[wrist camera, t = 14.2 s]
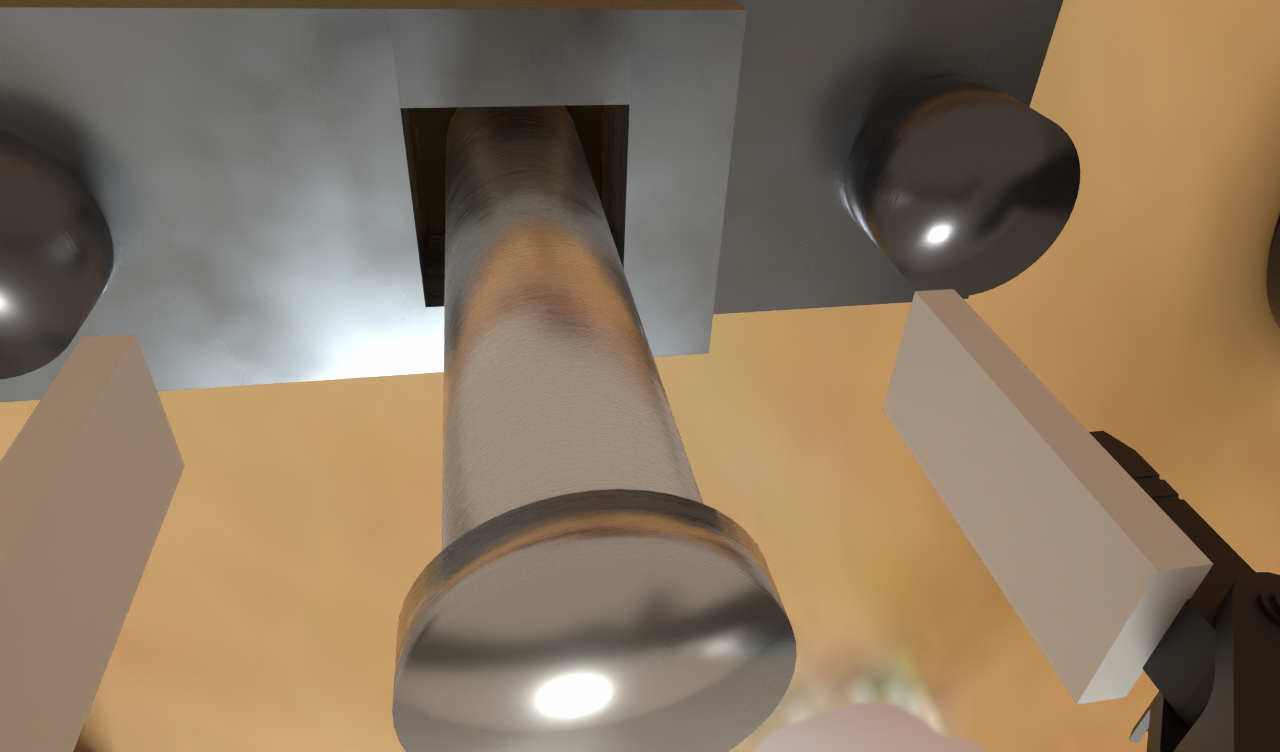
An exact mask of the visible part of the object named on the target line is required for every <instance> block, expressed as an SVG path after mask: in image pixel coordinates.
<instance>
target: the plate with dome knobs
mask: <svg viewBox="0 0 1280 752" xmlns="http://www.w3.org/2000/svg"><path fill="white" fill-rule="evenodd" d="M1062 2H1063V0H0V402H13V401H27V400H41V399H42V398H43V396H44V394H45V393H46V391H47V390H48V388H49V387H50V385H51V384H52V382H53V381H54V379H55V378H56V376H57V375H58V373H59V372H60V370H61V369H62V367H63V365H64V364H65V362H66V361H67V359H68V358H69V356H70V355H71V353H72V352H73V350H74V349H75V347H76V346H77V344H78V343H79V341H80V340H81V338H82V337H92V336H110V335H128V334H136V336H137V339H138V341H139V344H140V347H141V350H142V352H143V355H144V358H145V360H146V363H147V366H148V368H149V371H150V374H151V376H152V379H153V382H154V384H155V387H156V390H157V391H171V390H185V389H200V388H214V387H229V386H243V385H257V384H272V383H286V382H301V381H315V380H329V379H344V378H358V377H373V376H387V375H401V374H416V373H430V372H444V301H445V235H429V233H428V225H427V216H426V208H425V199H424V191H423V182H422V173H421V165H420V156H419V148H418V139H417V131H416V122H415V114H414V108H443V107H504V106H565V105H603V121H602V180H601V204H602V207H603V210H604V213H605V216H606V219H607V222H608V225H609V228H610V231H611V234H612V237H613V240H614V243H615V246H616V249H617V252H618V255H619V258H620V260H621V263H622V266H623V269H624V272H625V275H626V278H627V281H628V284H629V287H630V290H631V293H632V296H633V299H634V302H635V305H636V308H637V311H638V314H639V316H640V319H641V322H642V325H643V328H644V331H645V334H646V337H647V340H648V343H649V346H650V349H651V352H652V355H653V357H661V356H675V355H689V354H704V353H709V345H710V336H711V327H712V318H713V314H723V313H740V312H756V311H772V310H789V309H805V308H821V307H838V306H854V305H870V304H887V303H903V302H912V301H913V297H914V293H915V291H929V290H947V289H954V290H955V291H956V292H957V293H958V294H959V295H960V296H961V297H962V298H963V299H968V297H969V295H973V294H978V293H982V292H984V291H987V290H990V289H993V288H995V287H997V286H1000V285H1002V284H1004V283H1006V282H1007V281H1009V280H1011V279H1013V278H1014V277H1016V276H1017V275H1019V274H1020V273H1022V272H1023V271H1025V270H1026V269H1027V268H1028V267H1030V266H1031V265H1032V264H1033V263H1034V262H1036V261H1037V260H1038V259H1039V258H1040V257H1041V256H1042V255H1043V254H1044V253H1045V252H1046V251H1047V250H1048V248H1049V247H1050V246H1051V245H1052V244H1053V242H1054V241H1055V240H1056V238H1057V237H1058V235H1059V234H1060V233H1061V231H1062V230H1063V228H1064V226H1065V224H1066V223H1067V221H1068V219H1069V217H1070V214H1071V212H1072V210H1073V208H1074V205H1075V201H1076V198H1077V195H1078V190H1079V184H1080V163H1079V158H1078V154H1077V150H1076V148H1075V146H1074V144H1073V142H1072V140H1071V139H1070V137H1069V136H1068V134H1067V133H1066V132H1065V131H1064V130H1063V129H1062V128H1061V127H1060V126H1059V125H1057V124H1056V123H1054V122H1053V121H1051V120H1050V119H1048V118H1046V117H1045V116H1043V115H1041V114H1040V113H1038V112H1036V111H1035V110H1033V109H1031V108H1030V107H1029V106H1030V103H1031V100H1032V96H1033V93H1034V90H1035V87H1036V84H1037V81H1038V78H1039V75H1040V71H1041V68H1042V65H1043V62H1044V59H1045V56H1046V53H1047V49H1048V46H1049V43H1050V40H1051V37H1052V34H1053V31H1054V28H1055V24H1056V21H1057V18H1058V15H1059V12H1060V9H1061V6H1062Z"/></svg>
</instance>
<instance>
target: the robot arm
mask: <svg viewBox="0 0 1280 752" xmlns="http://www.w3.org/2000/svg"><path fill="white" fill-rule="evenodd" d="M1267 294H1268V299H1269V304H1270V308H1271V311H1272V314H1273V316H1274V318H1275V320H1276V322H1277V324H1278V325H1279V327H1280V223H1279V225H1278V228H1277V231H1276V234H1275V237H1274V240H1273V244H1272V248H1271V252H1270V257H1269V263H1268V270H1267ZM883 411H884V412H885V414H886V415H887V417H888V418H889V420H890V422H891V423H892V425H893V426H894V428H895V429H896V431H897V432H898V434H899V435H900V437H901V438H902V440H903V441H904V443H905V444H906V446H907V447H908V449H909V450H910V452H911V453H912V455H913V456H914V458H915V460H916V461H917V463H918V464H919V466H920V467H921V469H922V470H923V472H924V473H925V475H926V476H927V478H928V479H929V481H930V482H931V484H932V485H933V487H934V488H935V490H936V491H937V493H938V494H939V496H940V497H941V499H942V501H943V502H944V504H945V505H946V507H947V508H948V510H949V511H950V513H951V514H952V516H953V517H954V519H955V520H956V522H957V523H958V525H959V526H960V528H961V529H962V531H963V532H964V534H965V535H966V537H967V538H968V540H969V542H970V543H971V545H972V546H973V548H974V549H975V551H976V552H977V554H978V555H979V557H980V558H981V560H982V561H983V563H984V564H985V566H986V567H987V569H988V570H989V572H990V573H991V575H992V576H993V578H994V579H995V581H996V583H997V584H998V586H999V587H1000V589H1001V590H1002V592H1003V593H1004V595H1005V596H1006V598H1007V599H1008V601H1009V602H1010V604H1011V605H1012V607H1013V608H1014V610H1015V611H1016V613H1017V614H1018V616H1019V617H1020V619H1021V621H1022V622H1023V624H1024V625H1025V627H1026V628H1027V630H1028V631H1029V633H1030V634H1031V636H1032V637H1033V639H1034V640H1035V642H1036V643H1037V645H1038V646H1039V648H1040V649H1041V651H1042V652H1043V654H1044V655H1045V657H1046V658H1047V660H1048V662H1049V663H1050V665H1051V666H1052V668H1053V669H1054V671H1055V672H1056V674H1057V675H1058V677H1059V678H1060V680H1061V681H1062V683H1063V684H1064V686H1065V687H1066V689H1067V690H1068V692H1069V693H1070V695H1071V696H1072V698H1073V699H1074V701H1075V703H1076V704H1083V703H1090V702H1096V701H1103V700H1110V699H1117V698H1123V697H1126V696H1127V694H1128V693H1129V691H1130V690H1131V688H1132V687H1133V685H1134V684H1135V682H1136V681H1137V679H1138V678H1139V676H1140V675H1141V673H1142V672H1143V670H1144V671H1145V672H1146V674H1147V675H1148V676H1149V678H1150V679H1151V680H1152V682H1153V683H1154V684H1155V686H1156V687H1157V688H1158V689H1159V692H1158V694H1157V695H1156V697H1155V698H1154V699H1153V701H1152V702H1151V704H1150V705H1149V707H1148V708H1147V710H1146V711H1145V712H1144V714H1143V715H1142V717H1141V718H1140V720H1139V721H1138V722H1137V724H1136V725H1135V727H1134V728H1133V731H1132V733H1131V735H1130V738H1129V740H1131V741H1133V742H1135V743H1138V742H1139V740H1140V739H1141V738H1142V736H1143V735H1144V733H1145V732H1146V731H1148V730H1149V731H1148V742H1147V752H1280V575H1277V574H1273V573H1269V572H1255V571H1254V570H1253V569H1252V568H1251V567H1250V566H1249V565H1248V564H1247V563H1246V562H1245V561H1244V560H1243V559H1242V558H1241V557H1240V556H1239V555H1238V554H1237V553H1236V552H1235V551H1234V550H1233V549H1232V548H1231V547H1230V546H1229V545H1228V544H1227V543H1226V542H1225V541H1224V540H1223V539H1222V538H1221V537H1220V536H1219V535H1218V534H1217V533H1216V532H1215V531H1214V530H1213V529H1212V528H1211V527H1210V526H1209V525H1208V524H1207V523H1206V522H1205V521H1204V520H1203V519H1202V518H1201V517H1200V516H1199V515H1198V514H1197V512H1196V511H1195V510H1194V509H1193V508H1192V507H1191V506H1190V505H1189V504H1188V503H1187V502H1186V501H1185V500H1184V499H1183V500H1180V499H1179V497H1178V495H1179V494H1178V493H1177V492H1176V491H1175V490H1174V489H1173V488H1172V487H1171V486H1170V485H1169V484H1168V483H1167V482H1166V481H1165V480H1160V479H1159V474H1158V473H1157V472H1156V471H1155V470H1154V469H1153V468H1152V467H1151V466H1150V465H1149V464H1148V463H1147V462H1146V461H1145V460H1144V459H1143V458H1142V457H1141V456H1140V455H1139V454H1138V453H1137V452H1136V451H1135V450H1133V449H1132V448H1130V447H1129V446H1127V445H1125V444H1124V443H1122V442H1121V441H1119V440H1117V439H1116V438H1114V437H1113V436H1111V435H1109V434H1108V433H1106V432H1104V431H1095V432H1088V431H1087V430H1086V429H1085V428H1084V426H1083V425H1082V424H1081V423H1080V422H1079V421H1078V420H1077V419H1076V418H1075V417H1074V416H1073V415H1072V414H1071V413H1070V412H1069V411H1068V410H1067V408H1066V407H1065V406H1064V405H1063V404H1062V403H1061V402H1060V401H1059V400H1058V399H1057V398H1056V397H1055V396H1054V395H1053V394H1052V393H1051V392H1050V390H1049V389H1048V388H1047V387H1046V386H1045V385H1044V384H1043V383H1042V382H1041V381H1040V380H1039V379H1038V378H1037V377H1036V376H1035V375H1034V374H1033V373H1032V371H1031V370H1030V369H1029V368H1028V367H1027V366H1026V365H1025V364H1024V363H1023V362H1022V361H1021V360H1020V359H1019V358H1018V357H1017V356H1016V355H1015V353H1014V352H1013V351H1012V350H1011V349H1010V348H1009V347H1008V346H1007V345H1006V344H1005V343H1004V342H1003V341H1002V340H1001V339H1000V338H999V337H998V335H997V334H996V333H995V332H994V331H993V330H992V329H991V328H990V327H989V326H988V325H987V324H986V323H985V322H984V321H983V320H982V319H981V317H980V316H979V315H978V314H977V313H976V312H975V311H974V310H973V309H972V308H971V307H970V306H969V305H968V304H967V303H966V302H965V301H964V299H963V298H962V297H961V296H960V295H959V294H958V293H957V292H956V291H955V290H954V289H947V290H929V291H915V293H914V297H913V301H912V304H911V308H910V312H909V315H908V319H907V323H906V326H905V330H904V334H903V337H902V341H901V345H900V349H899V352H898V356H897V360H896V363H895V367H894V371H893V374H892V378H891V382H890V385H889V389H888V393H887V396H886V400H885V404H884V407H883ZM184 466H185V465H184V462H183V460H182V457H181V454H180V452H179V449H178V446H177V444H176V441H175V438H174V436H173V433H172V430H171V427H170V425H169V422H168V419H167V417H166V414H165V411H164V409H163V406H162V403H161V401H160V398H159V395H158V393H157V390H156V387H155V384H154V382H153V379H152V376H151V374H150V371H149V368H148V366H147V363H146V360H145V358H144V355H143V352H142V350H141V347H140V344H139V341H138V339H137V336H136V334H128V335H110V336H92V337H82V338H81V340H80V341H79V343H78V344H77V346H76V347H75V349H74V350H73V352H72V353H71V355H70V356H69V358H68V359H67V361H66V362H65V364H64V365H63V367H62V369H61V370H60V372H59V373H58V375H57V376H56V378H55V379H54V381H53V382H52V384H51V385H50V387H49V388H48V390H47V391H46V393H45V394H44V396H43V398H42V399H41V401H40V402H39V404H38V405H37V407H36V408H35V410H34V411H33V413H32V414H31V416H30V417H29V419H28V420H27V422H26V423H25V425H24V427H23V428H22V430H21V431H20V433H19V434H18V436H17V437H16V439H15V440H14V442H13V443H12V445H11V446H10V448H9V449H8V451H7V452H6V454H5V456H4V457H3V459H2V460H1V462H0V752H73V751H74V749H75V746H76V744H77V741H78V738H79V736H80V733H81V731H82V728H83V726H84V723H85V720H86V718H87V715H88V713H89V710H90V708H91V705H92V702H93V700H94V697H95V695H96V692H97V690H98V687H99V684H100V682H101V679H102V677H103V674H104V672H105V669H106V667H107V664H108V661H109V659H110V656H111V654H112V651H113V649H114V646H115V643H116V641H117V638H118V636H119V633H120V631H121V628H122V625H123V623H124V620H125V618H126V615H127V613H128V610H129V607H130V605H131V602H132V600H133V597H134V595H135V592H136V589H137V587H138V584H139V582H140V579H141V577H142V574H143V571H144V569H145V566H146V564H147V561H148V559H149V556H150V553H151V551H152V548H153V546H154V543H155V541H156V538H157V535H158V533H159V530H160V528H161V525H162V523H163V520H164V517H165V515H166V512H167V510H168V507H169V505H170V502H171V499H172V497H173V494H174V492H175V489H176V487H177V484H178V481H179V479H180V476H181V474H182V471H183V469H184Z"/></svg>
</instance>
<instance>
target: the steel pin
mask: <svg viewBox="0 0 1280 752" xmlns="http://www.w3.org/2000/svg"><path fill="white" fill-rule="evenodd" d="M795 662H796V640H795V637H794V634H793V630H792V627H791V624H790V621H789V619H788V616H787V614H786V611H785V609H784V606H783V604H782V601H781V599H780V596H779V593H778V591H777V588H776V586H775V583H774V581H773V578H772V576H771V573H770V571H769V568H768V566H767V563H766V560H765V558H764V556H763V554H762V553H761V551H760V549H759V547H758V545H757V544H756V543H755V541H754V540H753V539H752V538H751V537H750V535H749V534H748V533H747V532H746V531H745V530H744V529H743V528H742V527H740V526H739V525H738V524H737V523H736V522H734V521H733V520H732V519H731V518H729V517H727V516H725V515H724V514H722V513H720V512H719V511H717V510H715V509H713V508H711V507H709V506H706V505H704V504H703V502H702V499H701V496H700V493H699V490H698V487H697V484H696V482H695V479H694V476H693V473H692V470H691V467H690V464H689V461H688V458H687V455H686V452H685V449H684V446H683V443H682V440H681V437H680V434H679V431H678V428H677V426H676V423H675V420H674V417H673V414H672V411H671V408H670V405H669V402H668V399H667V396H666V393H665V390H664V387H663V384H662V381H661V378H660V375H659V372H658V370H657V367H656V364H655V361H654V358H653V355H652V352H651V349H650V346H649V343H648V340H647V337H646V334H645V331H644V328H643V325H642V322H641V319H640V316H639V314H638V311H637V308H636V305H635V302H634V299H633V296H632V293H631V290H630V287H629V284H628V281H627V278H626V275H625V272H624V269H623V266H622V263H621V260H620V258H619V255H618V252H617V249H616V246H615V243H614V240H613V237H612V234H611V231H610V228H609V225H608V222H607V219H606V216H605V213H604V210H603V207H602V204H601V202H600V199H599V196H598V193H597V190H596V187H595V184H594V181H593V178H592V175H591V172H590V169H589V166H588V163H587V160H586V157H585V154H584V151H583V148H582V146H581V143H580V140H579V137H578V134H577V131H576V128H575V125H574V122H573V120H572V118H571V116H570V114H569V113H568V111H567V110H566V108H565V107H564V106H504V107H458V108H457V109H456V111H455V113H454V114H453V116H452V118H451V121H450V123H449V127H448V131H447V138H446V204H445V301H444V397H443V494H442V552H441V553H440V554H438V555H437V556H436V557H435V558H434V559H433V560H432V561H431V562H430V563H429V564H428V565H427V566H426V568H425V569H424V570H423V571H422V573H421V574H420V575H419V577H418V578H417V579H416V580H415V582H414V583H413V585H412V587H411V589H410V591H409V593H408V594H407V596H406V598H405V600H404V603H403V606H402V609H401V612H400V615H399V621H398V630H397V643H396V659H395V676H394V692H393V709H392V712H393V721H394V728H395V730H396V733H397V736H398V739H399V741H400V743H401V745H402V746H403V748H404V749H405V751H406V752H728V751H729V750H731V749H732V748H734V747H735V746H736V745H738V744H739V743H741V742H742V741H743V740H744V739H746V738H747V737H748V736H749V735H750V734H751V733H753V732H754V731H755V730H756V729H757V728H758V727H759V726H760V725H761V724H762V723H763V722H764V721H765V720H766V719H767V718H768V717H769V716H770V714H771V713H772V712H773V710H774V709H775V708H776V706H777V705H778V704H779V702H780V701H781V699H782V698H783V696H784V694H785V692H786V690H787V688H788V687H789V684H790V681H791V679H792V676H793V673H794V669H795Z"/></svg>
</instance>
